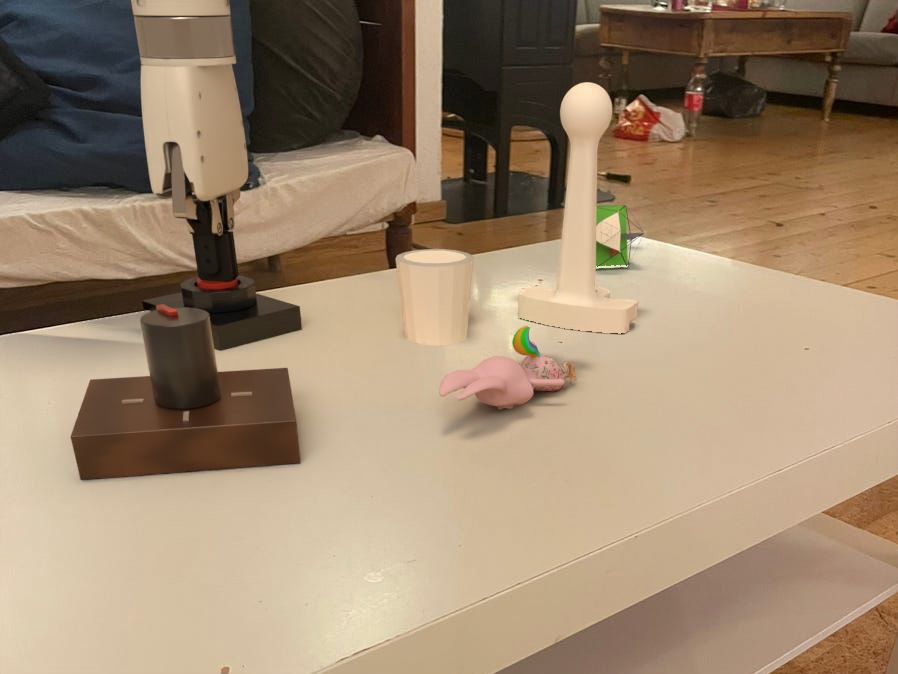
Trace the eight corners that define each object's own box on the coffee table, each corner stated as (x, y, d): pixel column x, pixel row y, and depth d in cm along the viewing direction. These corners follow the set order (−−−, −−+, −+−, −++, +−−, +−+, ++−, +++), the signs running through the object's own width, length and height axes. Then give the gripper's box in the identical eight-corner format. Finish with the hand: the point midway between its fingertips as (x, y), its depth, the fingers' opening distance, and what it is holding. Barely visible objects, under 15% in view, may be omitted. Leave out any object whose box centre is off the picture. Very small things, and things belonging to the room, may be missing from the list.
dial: (232, 399, 67) (220, 313, 64) (172, 414, 65) (156, 325, 62) (202, 383, 70) (190, 299, 67) (143, 396, 68) (127, 310, 64)
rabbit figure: (524, 389, 82) (412, 411, 71) (533, 314, 80) (418, 325, 68) (589, 405, 79) (483, 431, 68) (601, 328, 77) (492, 342, 65)
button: (191, 298, 91) (188, 279, 90) (224, 291, 93) (222, 272, 92) (214, 306, 88) (211, 286, 88) (247, 298, 91) (245, 279, 90)
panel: (80, 480, 63) (69, 433, 62) (98, 419, 72) (89, 377, 71) (300, 463, 66) (296, 417, 64) (291, 406, 75) (287, 365, 73)
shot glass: (441, 352, 86) (440, 269, 82) (382, 338, 89) (379, 257, 86) (488, 334, 91) (489, 254, 87) (431, 321, 94) (429, 244, 90)
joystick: (511, 320, 95) (517, 81, 84) (545, 302, 100) (554, 75, 89) (619, 337, 90) (640, 87, 79) (648, 317, 96) (672, 81, 85)
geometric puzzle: (566, 238, 116) (581, 186, 108) (622, 236, 117) (641, 184, 109) (578, 288, 113) (595, 238, 106) (635, 285, 114) (655, 236, 107)
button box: (145, 324, 93) (138, 280, 90) (226, 306, 98) (220, 264, 96) (220, 351, 86) (214, 304, 84) (302, 330, 91) (298, 285, 89)
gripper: (186, 39, 86) (216, 258, 96) (94, 46, 74) (140, 297, 84) (266, 40, 85) (288, 262, 95) (186, 48, 73) (221, 302, 83)
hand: (218, 278), depth 90 cm, fingers closed
